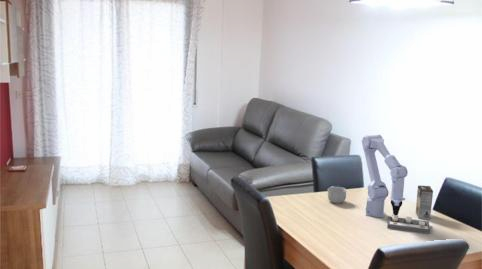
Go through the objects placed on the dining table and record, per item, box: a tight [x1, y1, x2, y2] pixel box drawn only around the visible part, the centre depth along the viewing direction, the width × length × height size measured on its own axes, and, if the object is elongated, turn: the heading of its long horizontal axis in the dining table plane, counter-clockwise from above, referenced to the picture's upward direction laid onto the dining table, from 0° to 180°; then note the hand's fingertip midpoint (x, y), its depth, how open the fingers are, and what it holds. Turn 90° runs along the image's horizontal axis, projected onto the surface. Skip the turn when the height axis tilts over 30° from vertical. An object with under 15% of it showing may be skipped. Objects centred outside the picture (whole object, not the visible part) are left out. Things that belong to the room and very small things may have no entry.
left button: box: [391, 214, 399, 222], centre depth 225 cm, size 3×3×2 cm
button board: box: [387, 216, 431, 235], centre depth 222 cm, size 20×12×2 cm, turn 70°
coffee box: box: [415, 185, 434, 220], centre depth 236 cm, size 9×6×16 cm
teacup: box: [327, 185, 347, 205], centre depth 259 cm, size 14×11×8 cm
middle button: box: [405, 216, 413, 223], centre depth 222 cm, size 3×3×2 cm
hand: (395, 214), depth 224 cm, fingers closed
